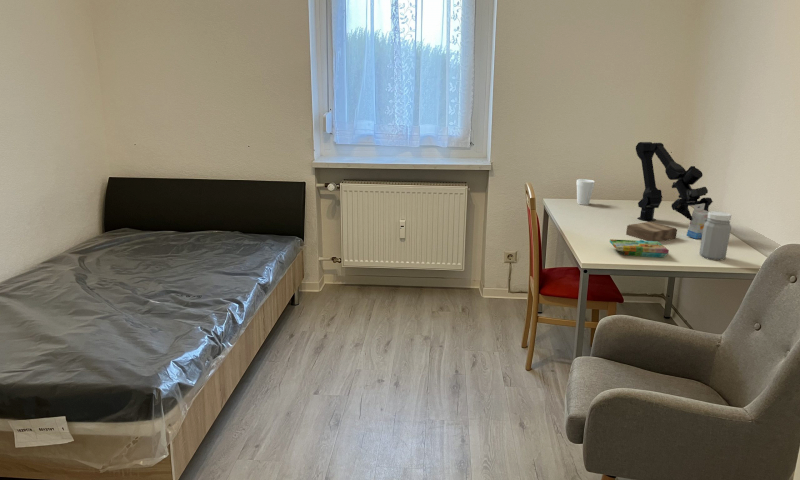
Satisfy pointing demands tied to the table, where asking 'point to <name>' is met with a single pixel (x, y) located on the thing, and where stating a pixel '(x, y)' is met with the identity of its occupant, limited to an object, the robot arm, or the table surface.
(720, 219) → the jar
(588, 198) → the foam cup
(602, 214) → the table surface
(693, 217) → the ink box
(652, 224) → the walnut box
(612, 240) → the puzzle game
